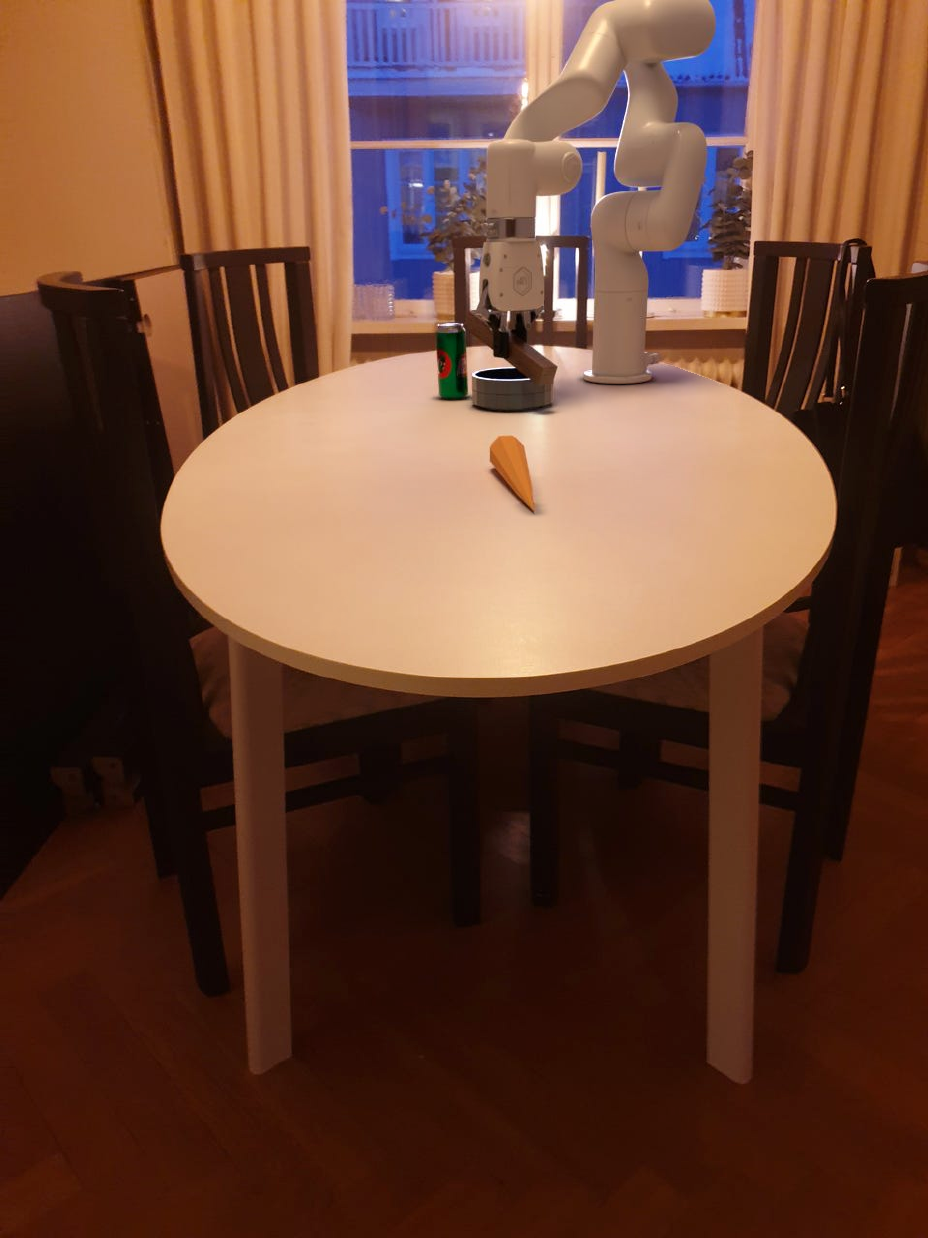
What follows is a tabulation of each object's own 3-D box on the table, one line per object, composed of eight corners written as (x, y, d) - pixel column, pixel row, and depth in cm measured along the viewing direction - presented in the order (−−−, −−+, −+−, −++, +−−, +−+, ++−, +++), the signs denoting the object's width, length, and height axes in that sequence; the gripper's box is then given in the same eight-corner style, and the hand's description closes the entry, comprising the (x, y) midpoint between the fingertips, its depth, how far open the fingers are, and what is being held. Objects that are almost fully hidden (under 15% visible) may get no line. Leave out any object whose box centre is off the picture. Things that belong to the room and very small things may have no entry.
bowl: (516, 394, 156) (516, 364, 154) (569, 404, 147) (570, 373, 144) (456, 404, 149) (455, 373, 147) (507, 416, 139) (507, 383, 137)
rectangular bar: (477, 326, 151) (481, 308, 149) (552, 384, 140) (558, 366, 138) (463, 327, 149) (467, 309, 147) (538, 386, 139) (543, 368, 137)
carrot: (494, 471, 112) (480, 439, 110) (527, 456, 111) (514, 424, 109) (522, 537, 95) (506, 501, 92) (561, 520, 94) (546, 483, 92)
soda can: (465, 400, 152) (462, 326, 147) (436, 400, 153) (432, 326, 148) (470, 394, 157) (467, 322, 151) (442, 394, 157) (438, 322, 152)
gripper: (484, 231, 130) (485, 363, 137) (567, 230, 139) (563, 354, 146) (453, 232, 135) (455, 358, 142) (534, 231, 144) (532, 350, 151)
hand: (510, 355), depth 144 cm, fingers closed on rectangular bar, 3 cm apart
